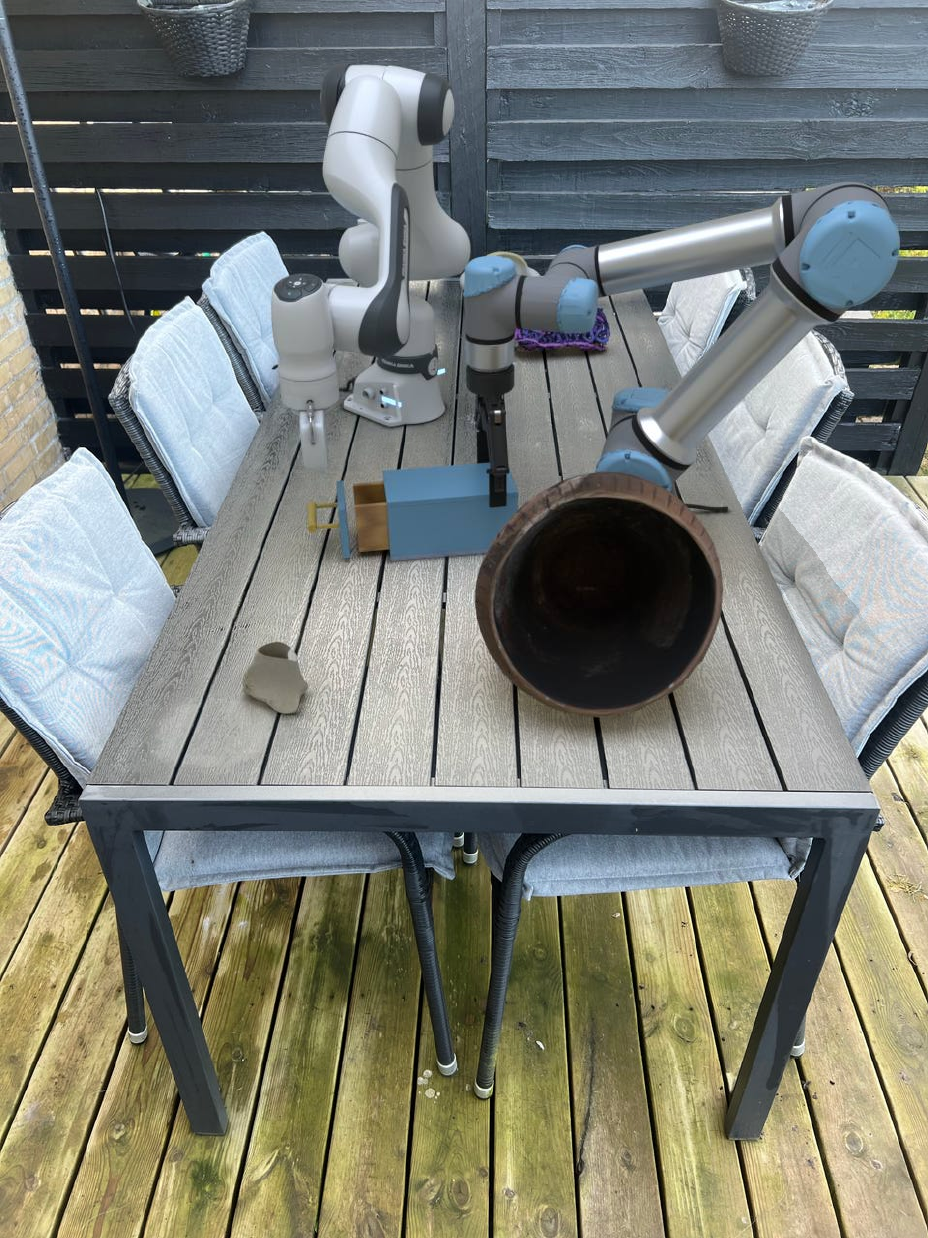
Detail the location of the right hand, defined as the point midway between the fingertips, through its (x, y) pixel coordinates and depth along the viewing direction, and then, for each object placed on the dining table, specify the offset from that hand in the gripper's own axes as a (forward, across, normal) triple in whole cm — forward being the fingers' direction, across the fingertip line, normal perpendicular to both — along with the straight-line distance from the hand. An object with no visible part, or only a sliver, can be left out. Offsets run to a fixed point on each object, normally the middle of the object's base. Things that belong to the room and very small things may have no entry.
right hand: (491, 485), depth 156 cm
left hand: (-6, 0, +28) cm, 29 cm away
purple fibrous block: (+10, +81, -27) cm, 86 cm away
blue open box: (+10, 0, +7) cm, 12 cm away
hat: (+10, +113, -20) cm, 115 cm away
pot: (+10, -34, -9) cm, 37 cm away
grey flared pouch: (+10, -37, +36) cm, 53 cm away
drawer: (+9, 0, +18) cm, 20 cm away
